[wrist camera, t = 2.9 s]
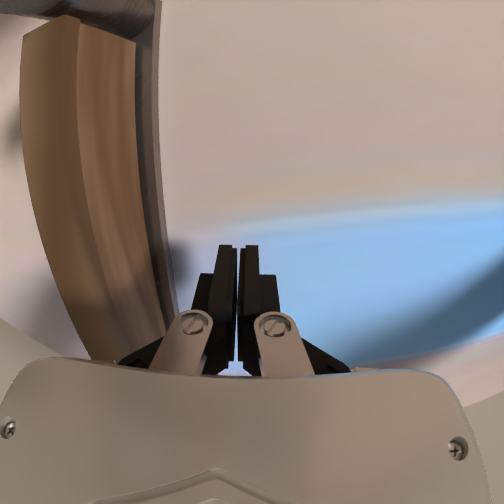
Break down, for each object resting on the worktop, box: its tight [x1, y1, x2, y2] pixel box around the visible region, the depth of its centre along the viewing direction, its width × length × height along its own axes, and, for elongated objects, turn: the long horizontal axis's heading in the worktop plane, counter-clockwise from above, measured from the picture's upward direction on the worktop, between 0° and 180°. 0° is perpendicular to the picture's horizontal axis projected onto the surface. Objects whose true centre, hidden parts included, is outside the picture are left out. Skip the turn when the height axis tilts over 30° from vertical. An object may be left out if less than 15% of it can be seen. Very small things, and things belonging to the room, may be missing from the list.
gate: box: [19, 15, 167, 362], centre depth 12 cm, size 2×20×6 cm, turn 179°
